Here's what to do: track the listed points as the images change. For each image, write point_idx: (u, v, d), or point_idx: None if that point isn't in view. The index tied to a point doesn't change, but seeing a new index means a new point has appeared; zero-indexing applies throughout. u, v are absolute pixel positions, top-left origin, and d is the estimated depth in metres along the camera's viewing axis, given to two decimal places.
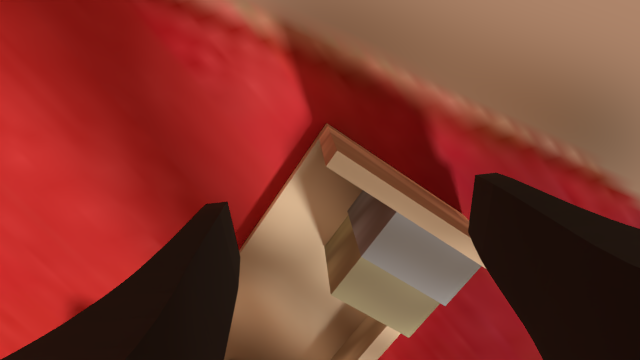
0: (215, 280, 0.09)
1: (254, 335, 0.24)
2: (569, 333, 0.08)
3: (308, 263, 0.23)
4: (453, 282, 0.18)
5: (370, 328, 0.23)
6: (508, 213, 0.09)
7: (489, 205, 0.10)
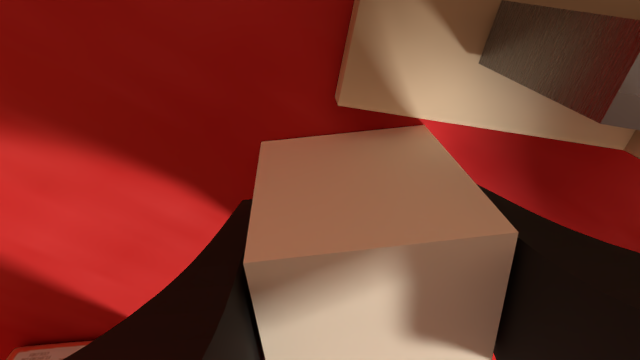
0: None
1: None
2: (519, 339, 0.08)
3: None
4: None
5: None
6: None
7: None
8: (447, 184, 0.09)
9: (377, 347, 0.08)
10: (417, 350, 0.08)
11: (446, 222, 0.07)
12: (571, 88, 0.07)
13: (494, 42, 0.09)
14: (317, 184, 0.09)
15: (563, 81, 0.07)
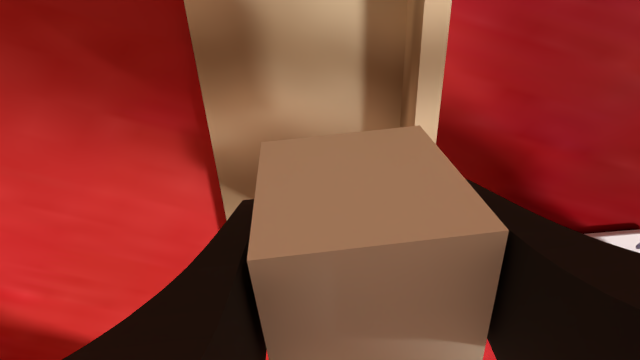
0: None
1: None
2: (519, 339, 0.08)
3: (280, 18, 0.16)
4: None
5: (412, 45, 0.16)
6: None
7: None
8: (442, 184, 0.09)
9: (374, 341, 0.09)
10: (413, 343, 0.09)
11: (441, 221, 0.08)
12: None
13: None
14: (315, 184, 0.09)
15: None
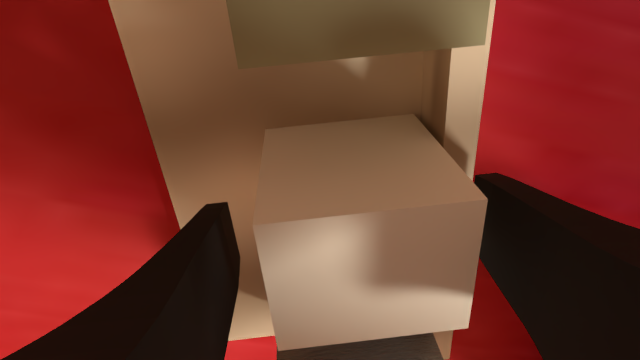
0: (215, 280, 0.09)
1: None
2: (569, 333, 0.08)
3: (258, 82, 0.12)
4: None
5: (432, 112, 0.12)
6: (508, 213, 0.09)
7: (489, 205, 0.10)
8: (430, 162, 0.10)
9: (368, 304, 0.09)
10: (403, 307, 0.10)
11: (428, 192, 0.09)
12: None
13: None
14: (315, 164, 0.10)
15: None
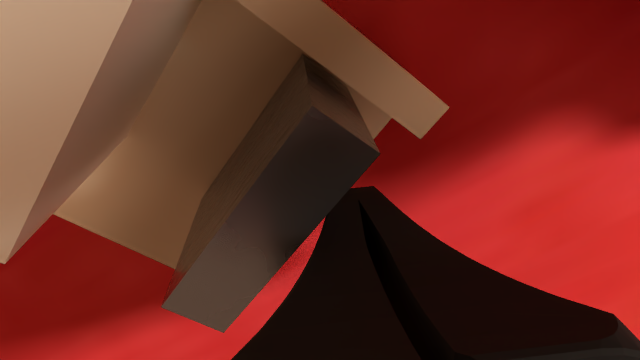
0: None
1: (144, 147, 0.11)
2: None
3: None
4: None
5: None
6: (366, 229, 0.09)
7: None
8: None
9: None
10: None
11: None
12: None
13: None
14: None
15: None
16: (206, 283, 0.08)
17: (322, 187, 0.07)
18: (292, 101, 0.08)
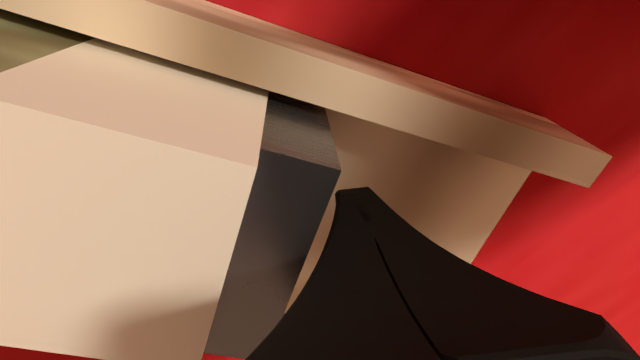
0: None
1: None
2: None
3: None
4: None
5: None
6: None
7: None
8: None
9: (147, 276, 0.07)
10: (170, 241, 0.06)
11: None
12: None
13: None
14: None
15: None
16: (231, 323, 0.09)
17: (299, 215, 0.07)
18: None
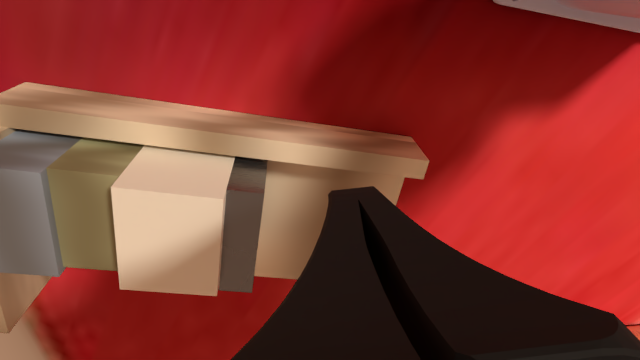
0: None
1: (295, 229, 0.22)
2: None
3: None
4: (6, 182, 0.14)
5: None
6: (366, 229, 0.09)
7: None
8: None
9: (186, 250, 0.16)
10: (193, 233, 0.15)
11: None
12: None
13: None
14: None
15: None
16: (230, 273, 0.17)
17: (250, 216, 0.16)
18: None
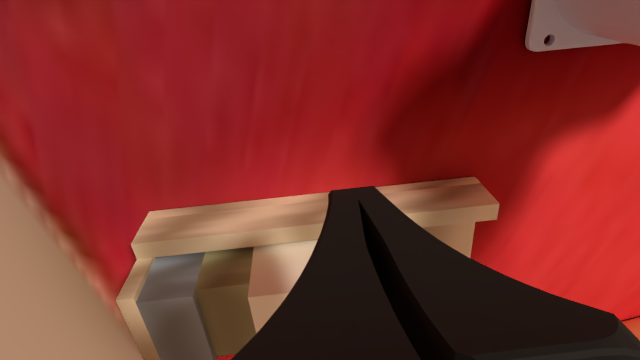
0: None
1: None
2: None
3: None
4: (169, 307, 0.18)
5: None
6: (366, 229, 0.09)
7: None
8: None
9: None
10: None
11: None
12: None
13: None
14: None
15: None
16: None
17: None
18: None
